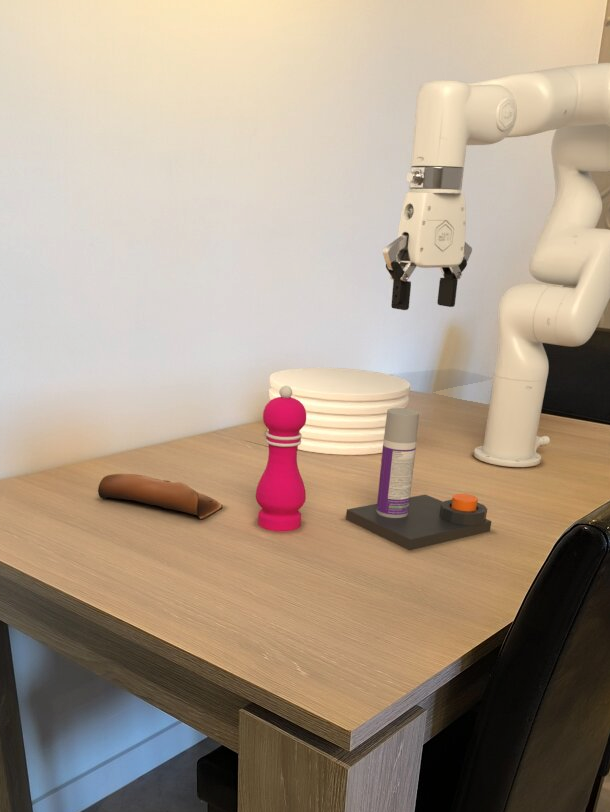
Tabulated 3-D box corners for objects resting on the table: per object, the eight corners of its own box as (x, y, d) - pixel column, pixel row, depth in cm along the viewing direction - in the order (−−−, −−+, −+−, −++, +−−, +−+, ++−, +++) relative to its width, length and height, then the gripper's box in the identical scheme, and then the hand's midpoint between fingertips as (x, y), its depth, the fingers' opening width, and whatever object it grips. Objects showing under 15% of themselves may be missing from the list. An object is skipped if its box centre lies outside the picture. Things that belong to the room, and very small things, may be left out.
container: (373, 507, 124) (383, 407, 118) (404, 507, 125) (415, 408, 118) (379, 518, 120) (390, 414, 114) (411, 518, 120) (423, 415, 114)
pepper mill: (299, 535, 117) (308, 392, 108) (249, 530, 118) (254, 388, 109) (307, 519, 123) (316, 383, 115) (260, 514, 124) (265, 378, 116)
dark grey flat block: (425, 504, 132) (427, 483, 131) (492, 532, 122) (496, 509, 120) (345, 520, 124) (347, 497, 122) (410, 551, 113) (413, 527, 112)
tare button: (463, 503, 123) (465, 492, 122) (481, 510, 120) (483, 499, 120) (446, 507, 121) (447, 495, 121) (463, 514, 119) (465, 502, 118)
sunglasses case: (226, 503, 127) (215, 472, 121) (206, 537, 123) (194, 506, 118) (129, 483, 133) (114, 453, 128) (107, 515, 130) (92, 485, 125)
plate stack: (287, 415, 185) (289, 363, 180) (412, 428, 179) (418, 374, 174) (250, 445, 160) (252, 385, 156) (393, 461, 154) (400, 399, 149)
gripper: (409, 180, 112) (398, 313, 119) (496, 184, 121) (480, 307, 128) (373, 180, 117) (364, 307, 125) (458, 183, 126) (445, 302, 134)
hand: (423, 307), depth 126 cm, fingers open, 9 cm apart
